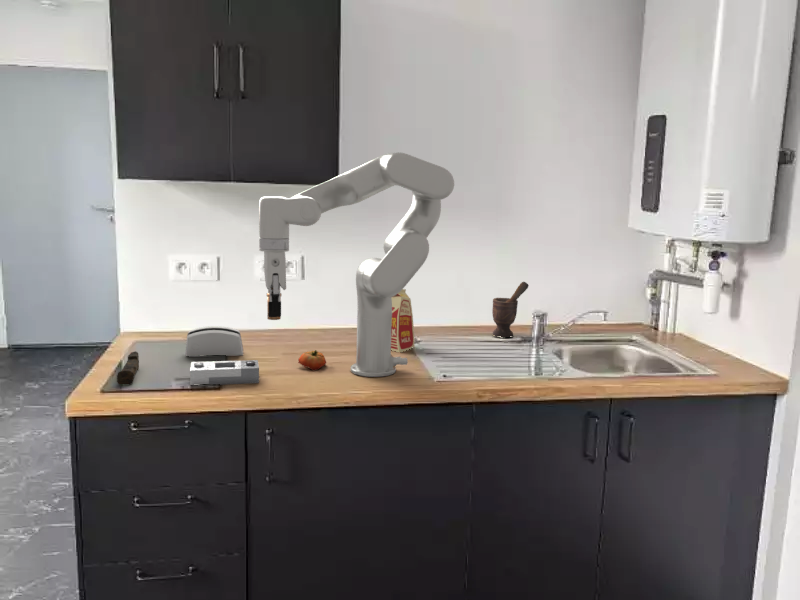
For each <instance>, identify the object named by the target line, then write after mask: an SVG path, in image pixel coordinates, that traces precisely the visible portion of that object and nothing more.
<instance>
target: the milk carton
mask: <svg viewBox="0 0 800 600" xmlns="http://www.w3.org/2000/svg"><path fill="white" fill-rule="evenodd" d="M406 291H407V290H406V289H405V288H403V289H402V290H401V291H400V292H399V293H398V294H397V295H395V296H393V297H391V298H392V328H391V350H392V351H391V352H394V351H396V352H395V353H398V352H401V353H403V351H404V352H407V351H410V350H412V349H411V348H412V347H414V348H415V329H414V315H413V314H414V313H413V307H412V299H411V297H410V296H409V295H408V294H407V293H406ZM409 349H410V350H409ZM406 350H407V351H406Z"/></svg>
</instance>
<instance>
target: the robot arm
mask: <svg viewBox="0 0 800 600" xmlns="http://www.w3.org/2000/svg"><path fill="white" fill-rule="evenodd" d="M394 186H397V187H398V186H399V187H401V188H404V189H407V190H409V191H411V194H412V203H411V205H410V207H409V209H408V210H407V211H406V213H405V215H404V216H403V217H402V219H401V220H400V221H399V222H397V225H395V226H394V228H393V229H392V231H391V232H390V233H389V234H388V235H387V236H386V238H385V240H384V242H383V251H384V254H385V256H384V257H383V258H379V257H370V258H366V259H365V260H363V261H362V262H361V263H360V264H359V266H358V268H357V270H356V274H355V285H356V286H355V287H356V288H355V289H356V295H357V296H356V298H357V299H356V300H357V309H356V310H357V316H356V317H357V318H356V358H355V359H356V360H355V361H356V362H355V363H353V364H352V365H351V366H350V372H351V373H352V374H354V375H357V376H361V377H368V378H369V377H370V378H371V377H373V378H374V377H375V378H377V377H379V378H380V377H388V376H392V375H393V374H395V373H396V371H397V365H401V366H405V365H408V362H409V361H408V358H407V357H401V356H393V355H392V351H391V328H392V298H391V297H393V296H395V295H397V294H398V293H399V292H400V291H401V290H402V289H405V287H406V286H407V284H408V283H409V282H410V281H411V280H412V279H413V277H414V276H415V275H416V274H417V273H418V271H419V270H420V269H421V268H422V267H423V265H424V264H425V262H426V261H427V258H428V256H429V253H430V243H429V241H428V239H427V238H428V236H430V234H431V233H432V231H433V230H434V229H435V227H436V226H437V224H438V223H439V220H440V217H441V211H442V200H444V199H446V198H448V197H449V196H450V195H451V194H452V192H453V190H454V188H455V178H454V176H453V174H452V173H451V172H450V170H448V169H447V168H445V167H443V166H440V165H437V164H435V163H432V162H429V161H426V160H424V159H422V158H418V157H416V156H414V155H411V154H408V153H405V152H388V153H385V154H382V155H380V156H378V157H376V158H374V159H372V160H369V161H368V162H365V163H364V164H363V163H362V165H360V166H357V167H355V168H352V169H350V170H348V171H345V172H344V173H343V172H342V173H341V174H338V175H337V176H335V177H333V178H331V179H329V180H327V181H324V182H322V183H319V184H317V185H314V186H313V187H311V188H308V189H306V190H304V191H302V192H299V193H298V194H297V193H296V194H295V195H294V196H291V197H289V198H288V197H285V196H274V195H273V196H271V195H270V196H269V195H268V196H262V197H260V199H259V203H258V205H259V206H258V212H259V213H258V225H259V226H258V229H259V230H258V233H259V234H258V235H259V241H258V242H259V247H258V249H259V250H258V251H260V252H263V263H264V264H263V267H264V268H263V269H264V270H263V271H264V282H265V288H266V289H267V292H268V293H269V301H270V302H268V316H269V317H281V318H282V300H281V301H280V293H281V289H282V290H283V291H285V290H287V266H286V265H287V262H286V261H287V260H286V252H289V251H290V225H295V226H301V227H311V226H313V225H315V224H317V222H319V220H320V219H321V217H322V216H321V215H322V214H324V213H326V212H328V211H332V210H333V209H337V208H340V207H345V206H347V207H348V206H352V205H355V204H359V203H361V202H363V201H365V200H367V199H369V198H371V197H373V196H375V195H377V194H380V193H381V192H384V191H385V190H388V189H389V188H390V189H391V187H394Z"/></svg>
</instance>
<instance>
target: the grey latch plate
mask: <svg viewBox="0 0 800 600" xmlns="http://www.w3.org/2000/svg"><path fill="white" fill-rule="evenodd" d="M189 376H190V377H189V378H190V379H189V380H190V381H189V383H190V384H189V385H194V384H220V385H219V386H221V385H222V386H223V385H241V384H245V385H247V384H259V383H260V366H259V360H258V359H251V360H249V359H248V360H247V359H246V360H221V361H220V360H219V361H217V360H216V361H191V363H190V368H189Z"/></svg>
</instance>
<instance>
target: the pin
mask: <svg viewBox="0 0 800 600" xmlns="http://www.w3.org/2000/svg"><path fill="white" fill-rule="evenodd" d="M266 297H267V299H266V300H267V301H266V302H267V305H266V306H267V320H269V321H278V320H279V321H280V320H281V318H282V316H281V317H269V316H268V302H270V301H269V293H266ZM281 297H282V292H280V301H281V302H282V299H281Z"/></svg>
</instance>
